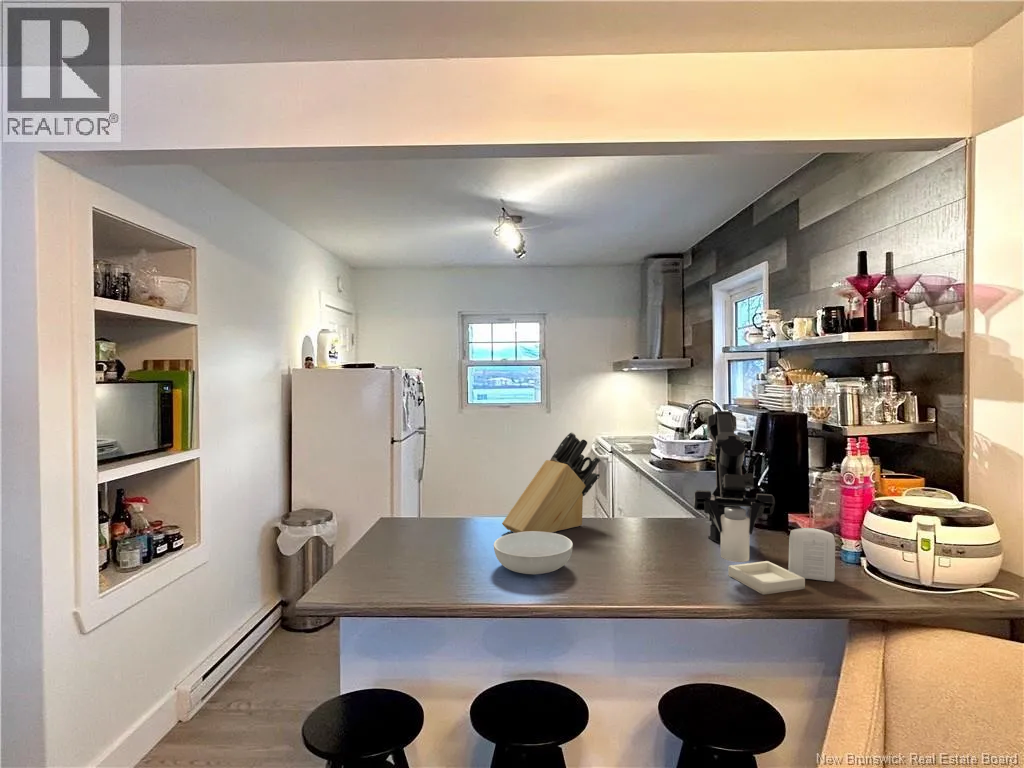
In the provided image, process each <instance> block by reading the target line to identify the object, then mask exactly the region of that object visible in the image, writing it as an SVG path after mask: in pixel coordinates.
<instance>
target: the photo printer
mask: <svg viewBox="0 0 1024 768" xmlns="http://www.w3.org/2000/svg"><path fill="white" fill-rule="evenodd" d="M788 537H789V538H788V568H787V570H788V571H790V572H793V573H795V574H797V575H799V576H801V577H803V578H805V580H814V581H815V580H816V581H822V582H825V581H826V582H835V570H836V566H835V565H836V563H835V562H836V540H835V536H834V534H833V533H831V532H829V531H827V530H823V529H819V528H818V529H817V528H812V527H802V528H794V529H791V530H790V534H789V536H788Z"/></svg>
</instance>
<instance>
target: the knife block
mask: <svg viewBox="0 0 1024 768" xmlns="http://www.w3.org/2000/svg"><path fill="white" fill-rule="evenodd" d="M587 445H588V441H587V440H586V439H581V440H580V439H579V438H578V437H576V434H575V433H574V432H573V431H571V432H570V433H568V434H567V435H566V436H565V437H564V438H563V440H562V441H561V442H560V444H559V445H558V447H556V450H555V452H554V453H553V455H552V456H551V458H550V459H546V460H545V461H544V462H543V464H541V466H540V468H539V470H538V471H537V472H536V473H535V475H534V477H533V478H532V479H531V480H530V482H529V483H528V485H527V486H526V488H525V490H523V492H522V494H521V495H520V497H519V498H518V499H517V501H516V502H515V504H514V505H513V506H512V508H511V509H510V511H509V512H508V514H507V515H506V517H505V518H504V520H503V521H502V522H501V524H502V525H503V527H504V528H505V529H506V530H508V531H510V532H513V533H518V532H528V531H539V532H550V533H556V532H558V531H563V530H567V529H571V528H572V529H573V528H578V527H579V526H582V525H583V499H584V497H585V496H586V495H587V494H588V492H589V491H590V490H591V489H592V487H593V486H594V484H595V483H596V482H597V481H598V480H599V478H600V475H601V474H599V473H596V472H594V470H595V469H596V467H597V465H598V464H599V463H600V462H601V459H600V458H599V457H598V456H597V457H594V458H593V459H592V458H591V457H590V456H586V457H585V456H584V455H583V454H582V453H583V452H584V451H585V450H586V449H585V448H586V447H587ZM587 461H589V462H588V465H587V466H586V467H585V469H583V467H584V466H585V464H586V462H587Z"/></svg>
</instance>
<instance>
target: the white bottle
mask: <svg viewBox="0 0 1024 768" xmlns="http://www.w3.org/2000/svg"><path fill="white" fill-rule="evenodd" d="M746 513H747V510H746V509H745V508H744V507H743V508H742V507H741V508H739V507H726V508H725V514H723V515H721V529H722V531H721V544H720V558H722V559H723V560H725V561H729V562H733V563H746V562H749V561H750V545H751V544H750V540H751V539H750V518H749V516H747V515H746Z"/></svg>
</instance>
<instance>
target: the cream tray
mask: <svg viewBox="0 0 1024 768" xmlns="http://www.w3.org/2000/svg"><path fill="white" fill-rule="evenodd" d="M727 569H728V570H727V571H728V576H729V577H730V578H733V579H734V580H736V581H738V582H740V583H741V584H743V585H745V586H747V587H748V588H750V589H752V590H754V591H756V592H758V593H759V594H761V595H770V594H777V593H784V592H791V591H799V590H805V589H806V579H805V578H803V577H801V576H799V575H797V574H795V573H793V572H790V571H788V569H786V568H784V567H781V566H780V565H777V564H775V563H773V562H770V561H769V560H765V561H764V560H763V561H756V562H748V563H740V564H731V565H728V568H727ZM728 576H727V577H728Z"/></svg>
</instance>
